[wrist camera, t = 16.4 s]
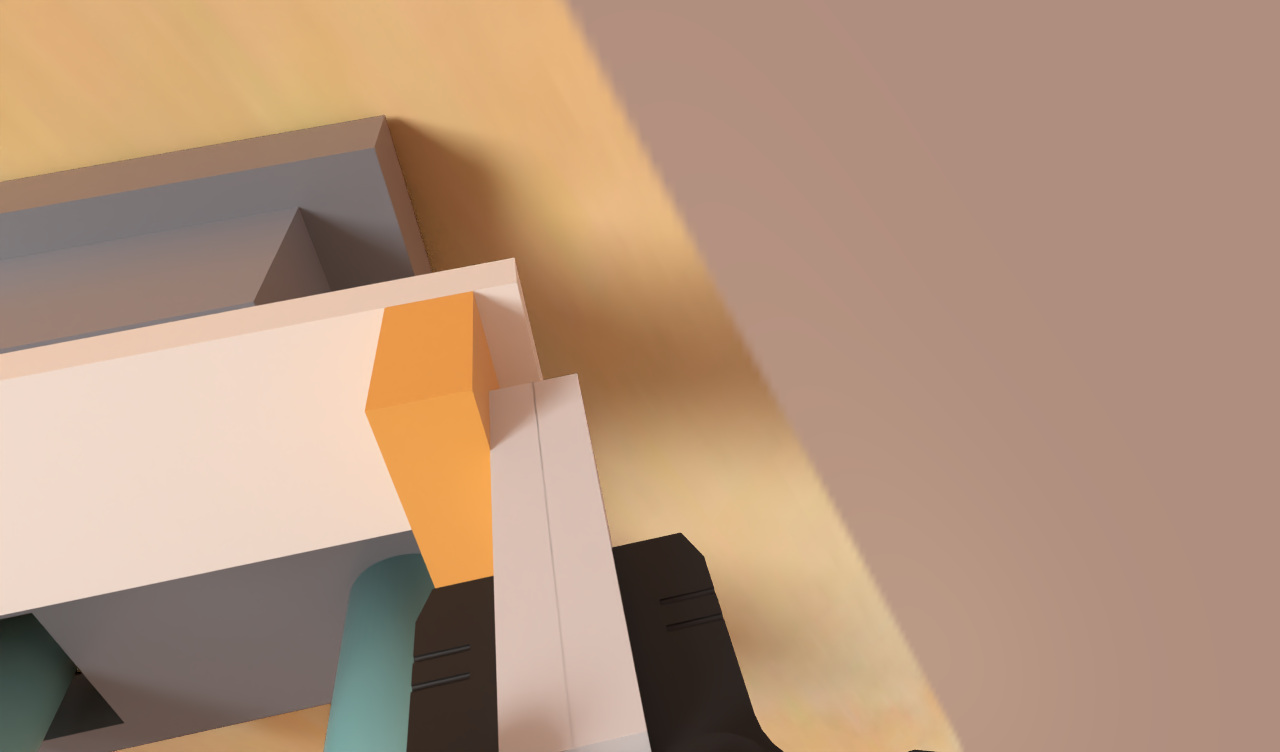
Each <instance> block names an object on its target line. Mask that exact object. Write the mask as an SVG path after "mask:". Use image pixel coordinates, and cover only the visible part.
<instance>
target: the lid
mask: <svg viewBox="0 0 1280 752" xmlns="http://www.w3.org/2000/svg"><path fill="white" fill-rule="evenodd" d="M541 380H543V376H542V372H541V368H540V364H539V359H538V355H537V351H536V347H535V342H534V338H533V334H532V330H531V325H530V321H529V317H528V313H527V308H526V304H525V300H524V296H523V291H522V287H521V283H520V279H519V275H518V270H517V266H516V262H515V258H509V259H504V260H499V261H493V262H488V263H483V264H477V265H472V266H467V267H461V268H456V269H451V270H445V271H440V272H435V273H429V274H424V275H419V276H413V277H408V278H403V279H397V280H392V281H387V282H381V283H376V284H371V285H365V286H360V287H355V288H349V289H344V290H339V291H334V292H328V293H323V294H318V295H312V296H307V297H302V298H296V299H291V300H286V301H280V302H275V303H270V304H264V305H259V306H254V307H248V308H243V309H238V310H232V311H227V312H222V313H216V314H211V315H206V316H200V317H195V318H190V319H184V320H179V321H174V322H168V323H163V324H158V325H152V326H147V327H142V328H136V329H131V330H126V331H120V332H115V333H110V334H105V335H99V336H94V337H89V338H83V339H78V340H73V341H67V342H62V343H57V344H51V345H46V346H41V347H35V348H30V349H25V350H19V351H14V352H9V353H3V354H0V615H5V614H10V613H15V612H20V611H24V610H29V609H34V608H39V607H44V606H48V605H53V604H58V603H63V602H68V601H72V600H77V599H82V598H87V597H92V596H96V595H101V594H106V593H111V592H116V591H120V590H125V589H130V588H135V587H140V586H144V585H149V584H154V583H159V582H164V581H168V580H173V579H178V578H183V577H188V576H192V575H197V574H202V573H207V572H212V571H216V570H221V569H226V568H231V567H236V566H240V565H245V564H250V563H255V562H260V561H264V560H269V559H274V558H279V557H284V556H288V555H293V554H298V553H303V552H308V551H312V550H317V549H322V548H327V547H332V546H336V545H341V544H346V543H351V542H356V541H360V540H365V539H370V538H375V537H380V536H384V535H389V534H394V533H399V532H404V531H408V530H412V531H413V534H414V536H415V539H416V541H417V544H418V546H419V549H420V551H421V554H422V556H423V559H424V562H425V564H426V567H427V569H428V572H429V574H430V577H431V579H432V582H433V584H434V587H435V588H439V587H444V586H448V585H453V584H457V583H462V582H467V581H471V580H476V579H480V578H485V577H490V576H494V571H493V536H492V502H491V468H490V409H489V391H492V390H497V389H502V388H507V387H512V386H517V385H522V384H527V383H531V382H536V381H541Z"/></svg>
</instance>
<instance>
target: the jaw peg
mask: <svg viewBox="0 0 1280 752" xmlns="http://www.w3.org/2000/svg"><path fill="white" fill-rule="evenodd" d="M77 668H78V667H77V666H76V665H75V663H74V662H73V661H72V660H71V659H70V657H69V656H68V655H67V654H66V653H65V651H64V650H63V649H62V648H61V647H60V646H59V644H58V643H57V642H56V641H55V640H54V638H53V637H52V636H51V635H50V634H49V632H48V631H47V630H46V629H45V628H44V626H43V625H42V624H41V623H40V622H39V621H38V619H37V618H36V617H35V616H34V615H33V613H28V614H23V615H19V616H14V617H9V618H4V619H0V752H38V750H39V748H40V746H41V744H42V742H43V740H44V737H45V735H46V733H47V731H48V729H49V727H50V725H51V723H52V721H53V719H54V717H55V714H56V712H57V710H58V708H59V706H60V704H61V702H62V700H63V698H64V696H65V694H66V691H67V689H68V687H69V685H70V683H71V681H72V679H73V677H74V675H75V673H76V671H77Z"/></svg>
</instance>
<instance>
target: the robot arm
mask: <svg viewBox="0 0 1280 752" xmlns="http://www.w3.org/2000/svg"><path fill="white" fill-rule="evenodd" d="M489 409H490V468H491V502H492V536H493V571H494V576H490V577H485V578H480V579H476V580H471V581H467V582H462V583H457V584H453V585H448V586H444V587H439V588H434V589H432V591H431V593H430V595H429V597H428V599H427V601H426V603H425V605H424V607H423V609H422V611H421V612H420V614H419V616H418V618H417V620H416V622H415V636H414V650H413V658H414V663H413V664H412V678H411V687H412V692H410V706H409V720H408V734H407V748H406V752H783V751H782V750H781V749H779V748H778V747H777V746H776V745H774V744H773V743H772V742H771V740H770V739H769V738H768V737H767V735H766V734H765V733H764V732H763V730H762V729H761V727H760V725H759V723H758V720H757V718H756V716H755V714H754V711H753V708H752V705H751V702H750V699H749V695H748V692H747V689H746V686H745V683H744V680H743V677H742V674H741V671H740V667H739V664H738V661H737V658H736V655H735V652H734V649H733V646H732V642H731V639H730V636H729V633H728V630H727V627H726V624H725V621H724V619H723V616H722V611H721V608H720V605H719V602H718V599H717V596H716V593H715V591H714V586H713V583H712V580H711V577H710V574H709V571H708V568H707V565H706V561H705V558H704V556H703V555H702V554H701V553H700V552H699V551H698V550H697V549H696V548H695V547H694V546H693V545H692V544H691V543H690V542H689V541H688V539H687V538H686V537H685V536H684V535H683V534H682V533H677V534H672V535H668V536H663V537H659V538H654V539H649V540H645V541H640V542H636V543H631V544H626V545H622V546H617V547H612V541H611V536H610V531H609V526H608V521H607V516H606V511H605V506H604V501H603V496H602V491H601V486H600V481H599V476H598V472H597V467H596V462H595V457H594V452H593V448H592V443H591V438H590V433H589V428H588V423H587V419H586V414H585V409H584V404H583V399H582V394H581V390H580V385H579V380H578V375H577V373H576V374H571V375H566V376H561V377H556V378H551V379H546V380H541V381H536V382H531V383H527V384H522V385H517V386H512V387H507V388H502V389H497V390H492V391H489ZM909 752H933V751H922V750H912V751H909Z"/></svg>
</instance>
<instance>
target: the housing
mask: <svg viewBox="0 0 1280 752" xmlns="http://www.w3.org/2000/svg"><path fill="white" fill-rule="evenodd" d="M429 273H432V270H431V266H430V263H429V260H428V256H427V253H426V250H425V247H424V243H423V240H422V237H421V233H420V230H419V227H418V223H417V220H416V217H415V213H414V210H413V207H412V204H411V200H410V197H409V194H408V190H407V187H406V184H405V180H404V177H403V174H402V171H401V167H400V164H399V161H398V157H397V154H396V151H395V147H394V144H393V141H392V137H391V134H390V131H389V128H388V124H387V121H386V118H385V115H382V116H377V117H371V118H365V119H359V120H354V121H348V122H342V123H337V124H331V125H325V126H319V127H314V128H308V129H302V130H296V131H291V132H285V133H279V134H273V135H268V136H262V137H256V138H250V139H245V140H239V141H233V142H227V143H222V144H216V145H210V146H205V147H199V148H193V149H187V150H182V151H176V152H170V153H164V154H159V155H153V156H147V157H141V158H136V159H130V160H124V161H118V162H113V163H107V164H101V165H95V166H90V167H84V168H78V169H73V170H67V171H61V172H55V173H50V174H44V175H38V176H32V177H27V178H21V179H15V180H9V181H4V182H0V354H3V353H9V352H14V351H19V350H25V349H30V348H35V347H41V346H46V345H51V344H57V343H62V342H67V341H73V340H78V339H83V338H89V337H94V336H99V335H105V334H110V333H115V332H120V331H126V330H131V329H136V328H142V327H147V326H152V325H158V324H163V323H168V322H174V321H179V320H184V319H190V318H195V317H200V316H206V315H211V314H216V313H222V312H227V311H232V310H238V309H243V308H248V307H254V306H259V305H264V304H270V303H275V302H280V301H286V300H291V299H296V298H302V297H307V296H312V295H318V294H323V293H328V292H334V291H339V290H344V289H349V288H355V287H360V286H365V285H371V284H376V283H381V282H387V281H392V280H397V279H403V278H408V277H413V276H419V275H424V274H429ZM434 588H435V587H434V584H433V582H432V579H431V577H430V574H429V572H428V569H427V567H426V564H425V562H424V559H423V556H422V554H421V551H420V549H419V546H418V544H417V541H416V539H415V536H414V534H413V531H412V530H408V531H404V532H399V533H394V534H389V535H384V536H380V537H375V538H370V539H365V540H360V541H356V542H351V543H346V544H341V545H336V546H332V547H327V548H322V549H317V550H312V551H308V552H303V553H298V554H293V555H288V556H284V557H279V558H274V559H269V560H264V561H260V562H255V563H250V564H245V565H240V566H236V567H231V568H226V569H221V570H216V571H212V572H207V573H202V574H197V575H192V576H188V577H183V578H178V579H173V580H168V581H164V582H159V583H154V584H149V585H144V586H140V587H135V588H130V589H125V590H120V591H116V592H111V593H106V594H101V595H96V596H92V597H87V598H82V599H77V600H72V601H68V602H63V603H58V604H53V605H48V606H44V607H39V608H34V609H29V610H24V611H20V612H15V613H10V614H5V615H0V619H4V618H9V617H14V616H19V615H23V614H28V613H33V615H34V616H35V617H36V618H37V619H38V621H39V622H40V623H41V624H42V625H43V626H44V628H45V629H46V630H47V631H48V632H49V634H50V635H51V636H52V637H53V638H54V640H55V641H56V642H57V643H58V644H59V646H60V647H61V648H62V649H63V650H64V651H65V653H66V654H67V655H68V656H69V657H70V659H71V660H72V661H73V662H74V663H75V665H76V666H77V667H78V668H79V669H80V671H81V672H82V674H78V675H74V677H73V679H72V681H71V683H70V685H69V687H68V689H67V691H66V694H65V696H64V698H63V700H62V702H61V704H60V706H59V708H58V710H57V712H56V714H55V717H54V719H53V721H52V723H51V725H50V727H49V729H48V731H47V733H46V735H45V737H44V740H43V742H42V744H41V746H40V748H39V750H38V752H112V751H117V750H121V749H126V748H130V747H135V746H139V745H144V744H148V743H153V742H157V741H162V740H166V739H171V738H175V737H180V736H184V735H189V734H193V733H198V732H203V731H207V730H212V729H216V728H221V727H225V726H230V725H234V724H239V723H243V722H248V721H252V720H257V719H261V718H266V717H270V716H275V715H279V714H284V713H288V712H293V711H298V710H302V709H307V708H311V707H316V706H320V705H325V704H329V703H331V709H330V715H329V721H328V727H327V733H326V739H325V745H324V751H323V752H406V748H407V734H408V720H409V706H410V692H412V687H411V678H412V664H413V663H414V658H413V650H414V636H415V622H416V620H417V618H418V616H419V614H420V612H421V611H422V609H423V607H424V605H425V603H426V601H427V599H428V597H429V595H430V593H431V591H432V589H434Z"/></svg>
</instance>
